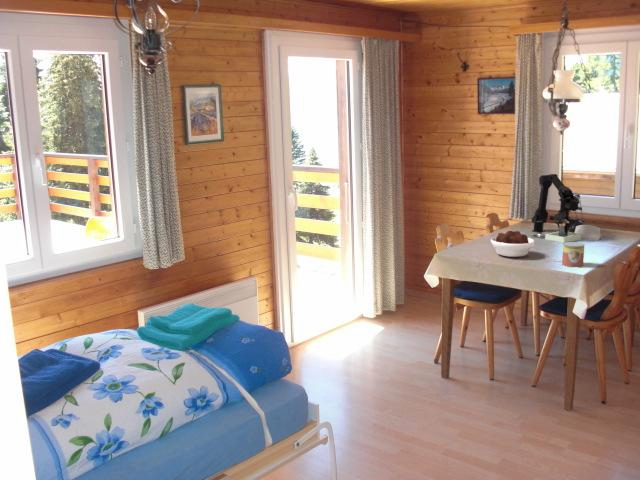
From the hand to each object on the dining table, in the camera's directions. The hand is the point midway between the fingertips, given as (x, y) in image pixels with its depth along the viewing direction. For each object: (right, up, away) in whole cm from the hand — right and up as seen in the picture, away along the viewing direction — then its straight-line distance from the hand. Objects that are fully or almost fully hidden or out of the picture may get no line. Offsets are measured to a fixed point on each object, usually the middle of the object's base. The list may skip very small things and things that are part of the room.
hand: (563, 232), depth 468 cm
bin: (0, -5, +1) cm, 5 cm away
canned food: (-17, -19, -65) cm, 70 cm away
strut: (0, -2, 0) cm, 3 cm away
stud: (-11, -3, +12) cm, 17 cm away
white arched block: (+18, -4, +6) cm, 19 cm away
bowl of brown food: (-44, -14, -41) cm, 62 cm away
